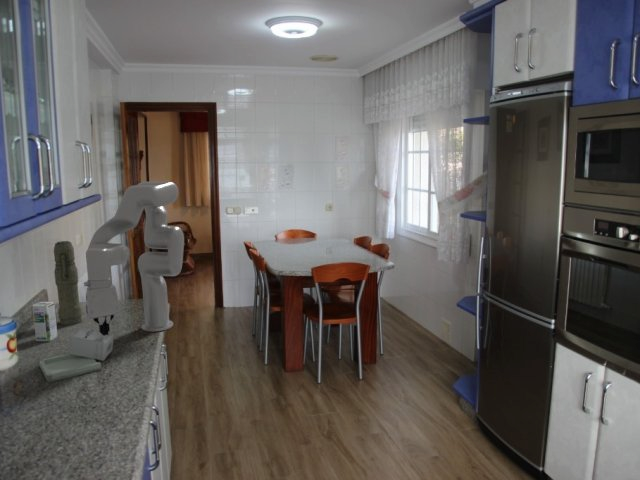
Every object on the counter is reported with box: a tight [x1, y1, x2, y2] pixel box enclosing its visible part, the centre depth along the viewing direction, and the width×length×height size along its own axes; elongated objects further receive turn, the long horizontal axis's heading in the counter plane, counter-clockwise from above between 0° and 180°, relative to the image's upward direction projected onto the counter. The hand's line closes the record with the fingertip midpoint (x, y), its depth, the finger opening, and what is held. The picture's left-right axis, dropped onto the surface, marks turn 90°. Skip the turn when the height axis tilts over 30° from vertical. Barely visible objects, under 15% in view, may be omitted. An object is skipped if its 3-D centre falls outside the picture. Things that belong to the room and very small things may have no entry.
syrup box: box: [32, 301, 58, 342], centre depth 202 cm, size 6×6×14 cm
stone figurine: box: [53, 240, 83, 326], centre depth 220 cm, size 9×12×35 cm
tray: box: [38, 353, 102, 384], centre depth 175 cm, size 16×16×2 cm
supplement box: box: [68, 326, 114, 361], centre depth 183 cm, size 7×7×13 cm
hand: (104, 334), depth 181 cm, fingers closed
